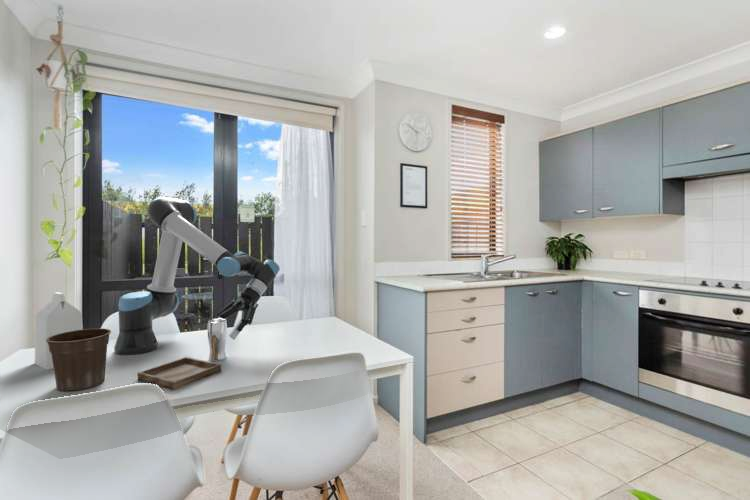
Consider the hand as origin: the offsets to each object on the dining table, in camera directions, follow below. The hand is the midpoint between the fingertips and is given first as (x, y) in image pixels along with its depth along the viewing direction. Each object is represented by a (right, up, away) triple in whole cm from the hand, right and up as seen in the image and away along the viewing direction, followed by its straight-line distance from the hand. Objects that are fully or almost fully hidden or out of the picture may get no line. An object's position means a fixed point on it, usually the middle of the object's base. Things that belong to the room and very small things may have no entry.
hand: (221, 334), depth 144 cm
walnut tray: (-6, -10, -18) cm, 21 cm away
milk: (-58, -9, -5) cm, 59 cm away
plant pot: (-34, -10, -25) cm, 44 cm away
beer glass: (-1, -9, 0) cm, 10 cm away
